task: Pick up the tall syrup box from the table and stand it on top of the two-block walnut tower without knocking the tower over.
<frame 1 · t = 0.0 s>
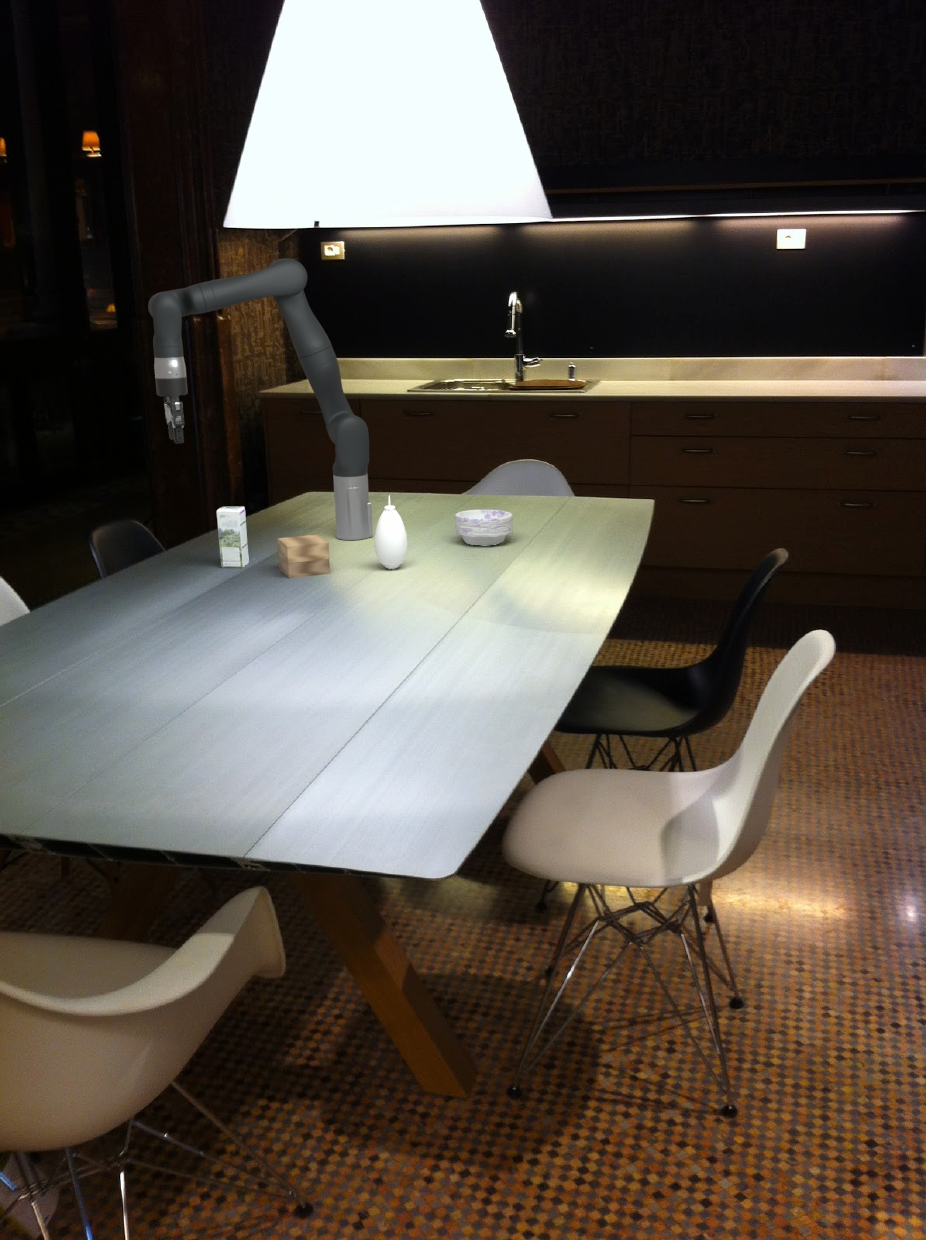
hand: (176, 441, 293), 29 cm above the table, tool pointing down, fingers open, 8 cm apart
syrup box: (235, 566, 288), on the table
tower top block: (303, 556, 280), point 4 cm above the table, touching tower base block
tower base block: (304, 572, 281), on the table, touching tower top block
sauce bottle: (392, 569, 282), on the table
paper bowls: (484, 543, 307), on the table
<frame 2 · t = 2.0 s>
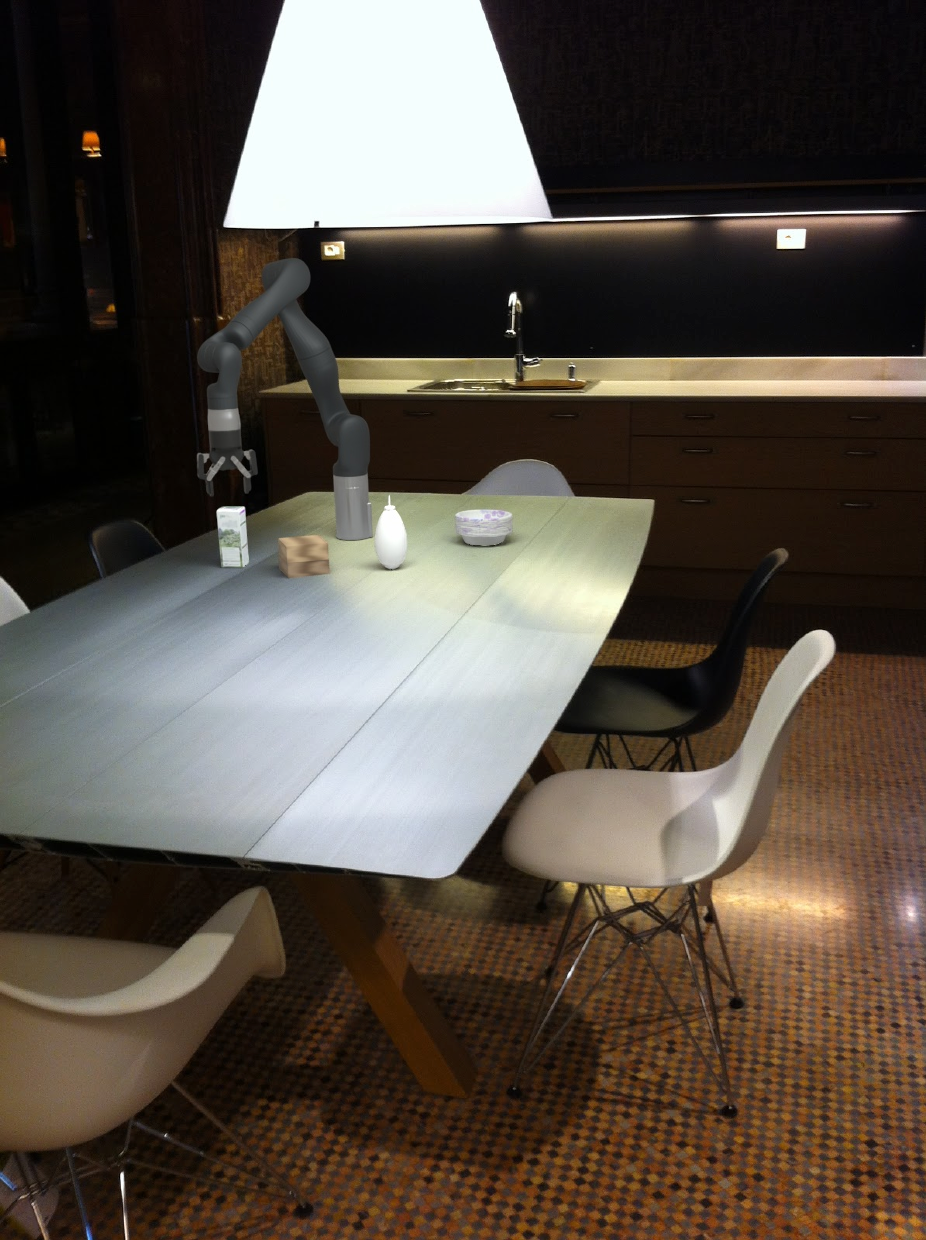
hand: (229, 494, 283), 18 cm above the table, tool pointing down, fingers open, 8 cm apart
tower top block: (303, 556, 280), point 4 cm above the table
tower base block: (304, 572, 281), on the table
everything else where it was.
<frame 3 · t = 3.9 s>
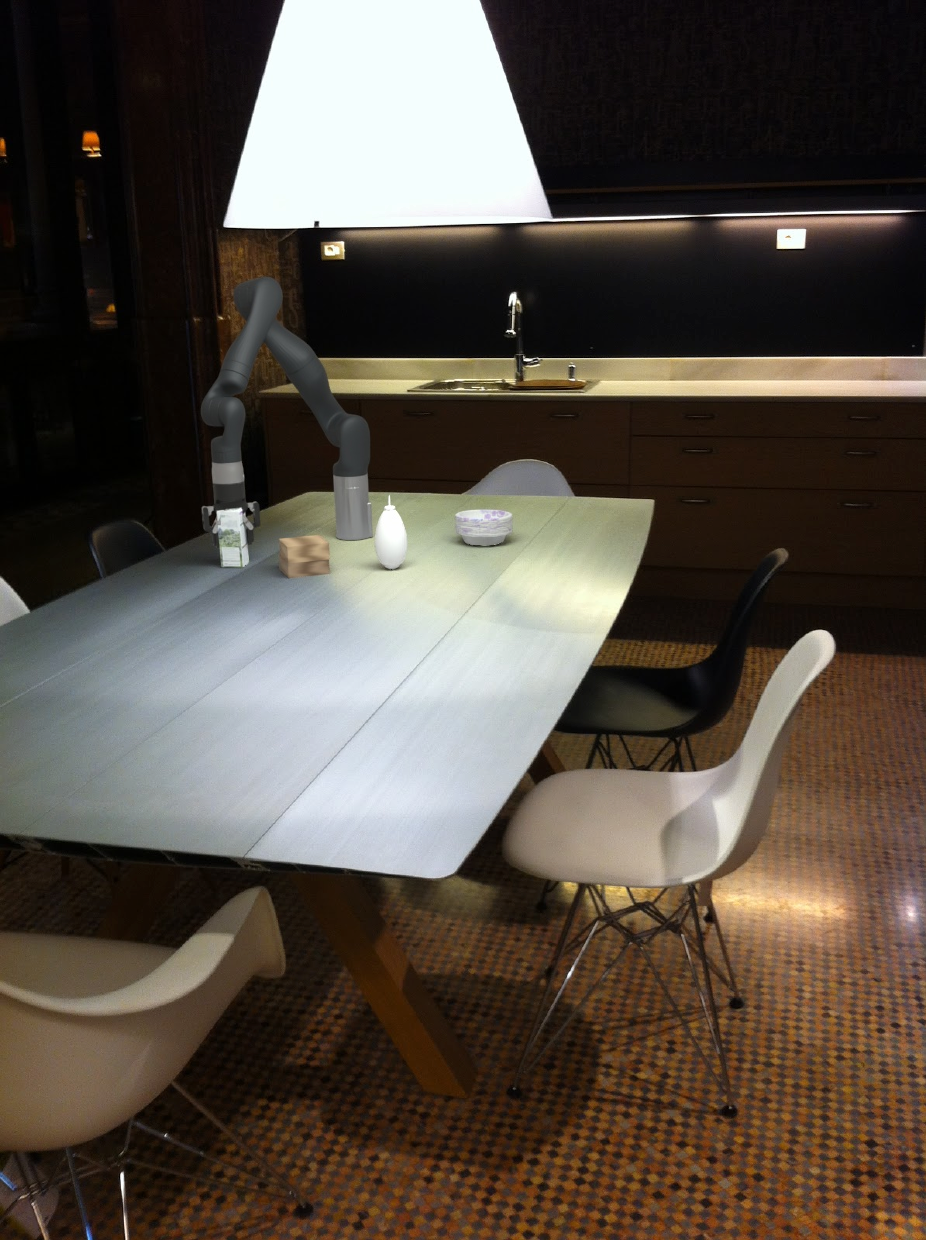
hand: (233, 545, 287), 5 cm above the table, tool pointing down, fingers closed on syrup box, 7 cm apart
syrup box: (235, 566, 288), on the table, touching gripper
tower top block: (304, 557, 280), point 4 cm above the table, touching tower base block
tower base block: (304, 573, 281), on the table, touching tower top block
everything else where it was.
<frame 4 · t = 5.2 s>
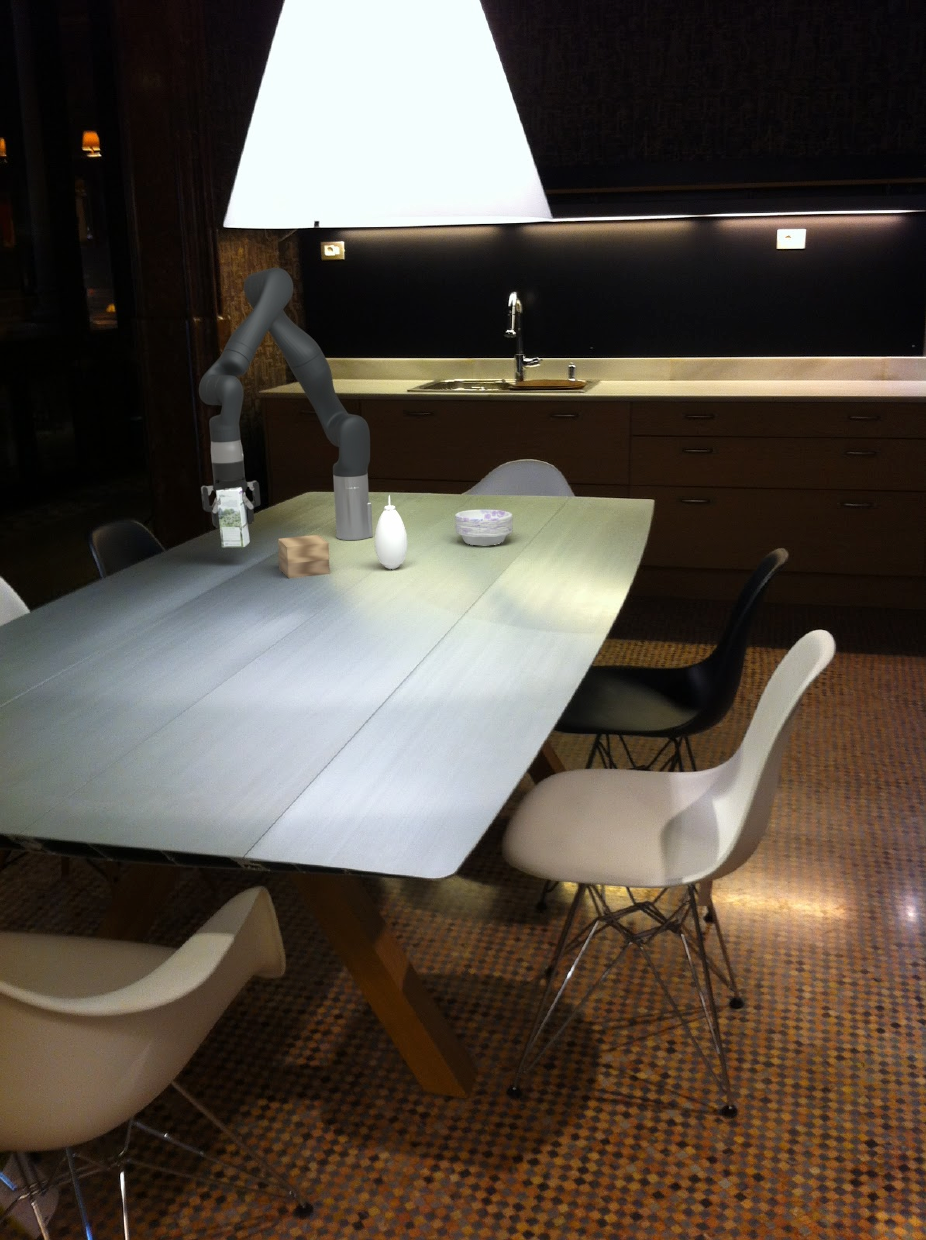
hand: (233, 525, 285), 10 cm above the table, tool pointing down, fingers closed on syrup box, 7 cm apart
syrup box: (235, 546, 287), point 5 cm above the table, touching gripper
everything else where it was.
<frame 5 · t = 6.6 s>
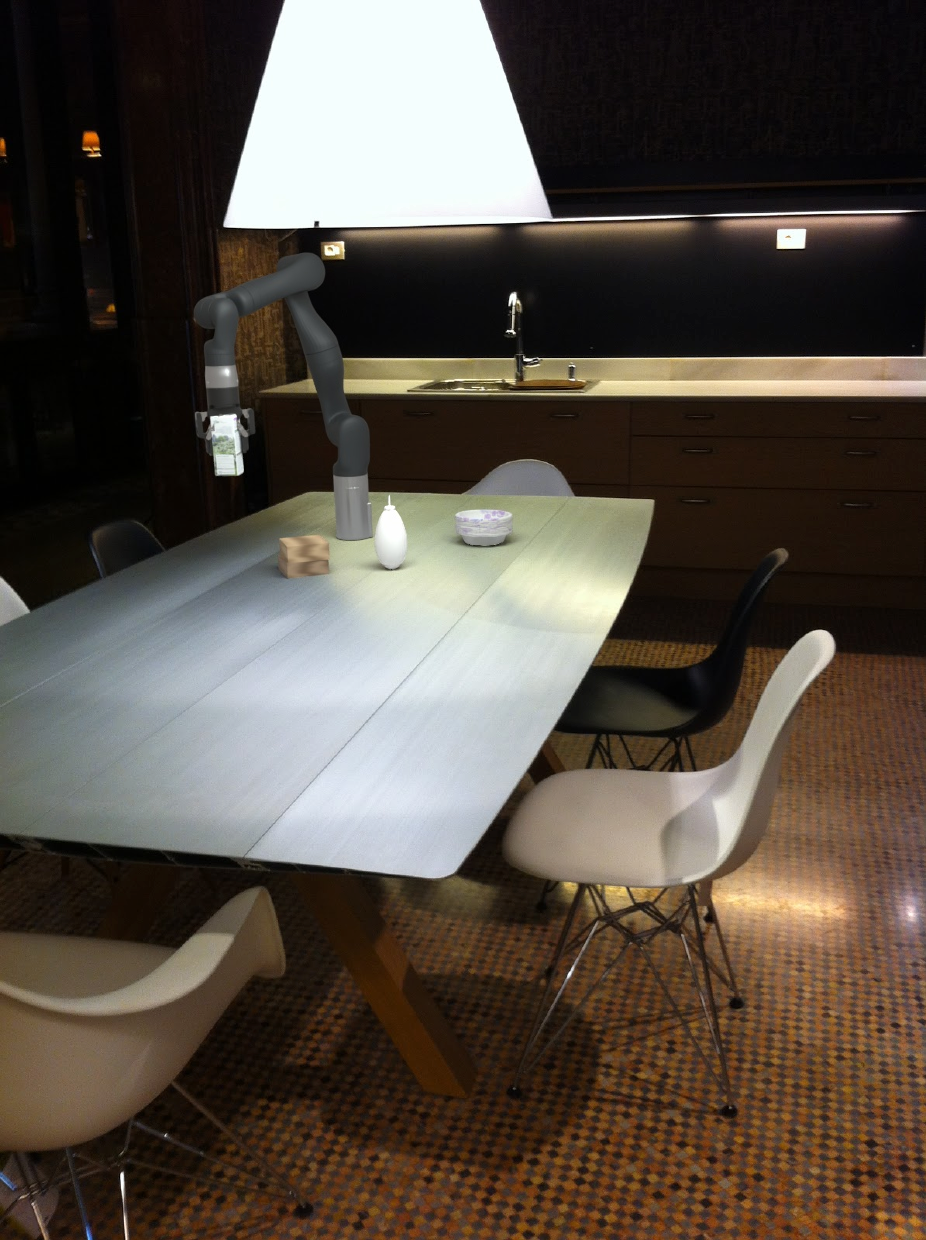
hand: (227, 453, 280), 28 cm above the table, tool pointing down, fingers closed on syrup box, 7 cm apart
syrup box: (229, 475, 282), point 23 cm above the table, touching gripper
everything else where it was.
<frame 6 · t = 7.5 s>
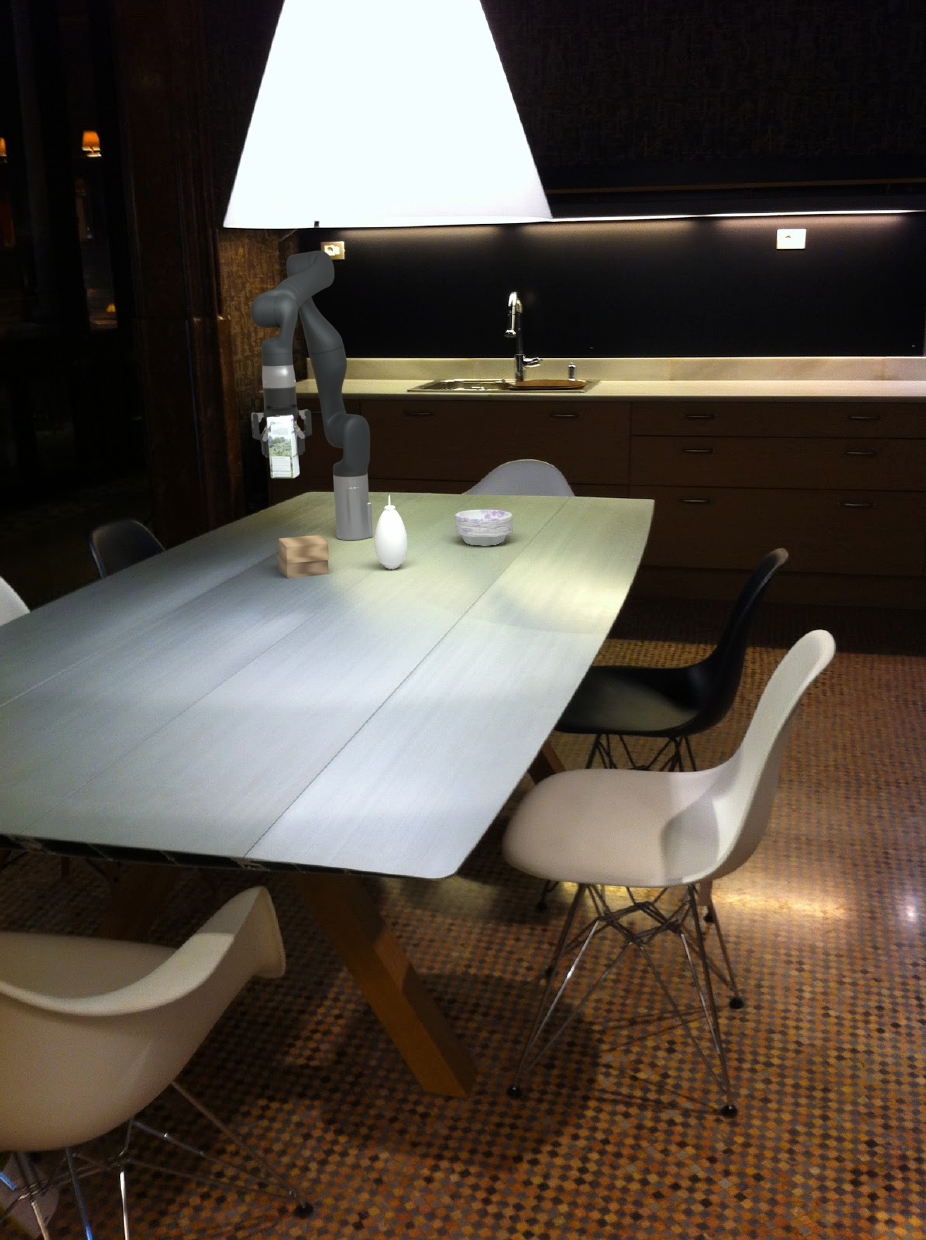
hand: (283, 455, 274), 28 cm above the table, tool pointing down, fingers closed on syrup box, 7 cm apart
syrup box: (285, 477, 276), point 23 cm above the table, touching gripper
everything else where it was.
when the fingers open (14 cm above the table, at t = 10.6 s): syrup box drops 2 cm, point 7 cm above the table.
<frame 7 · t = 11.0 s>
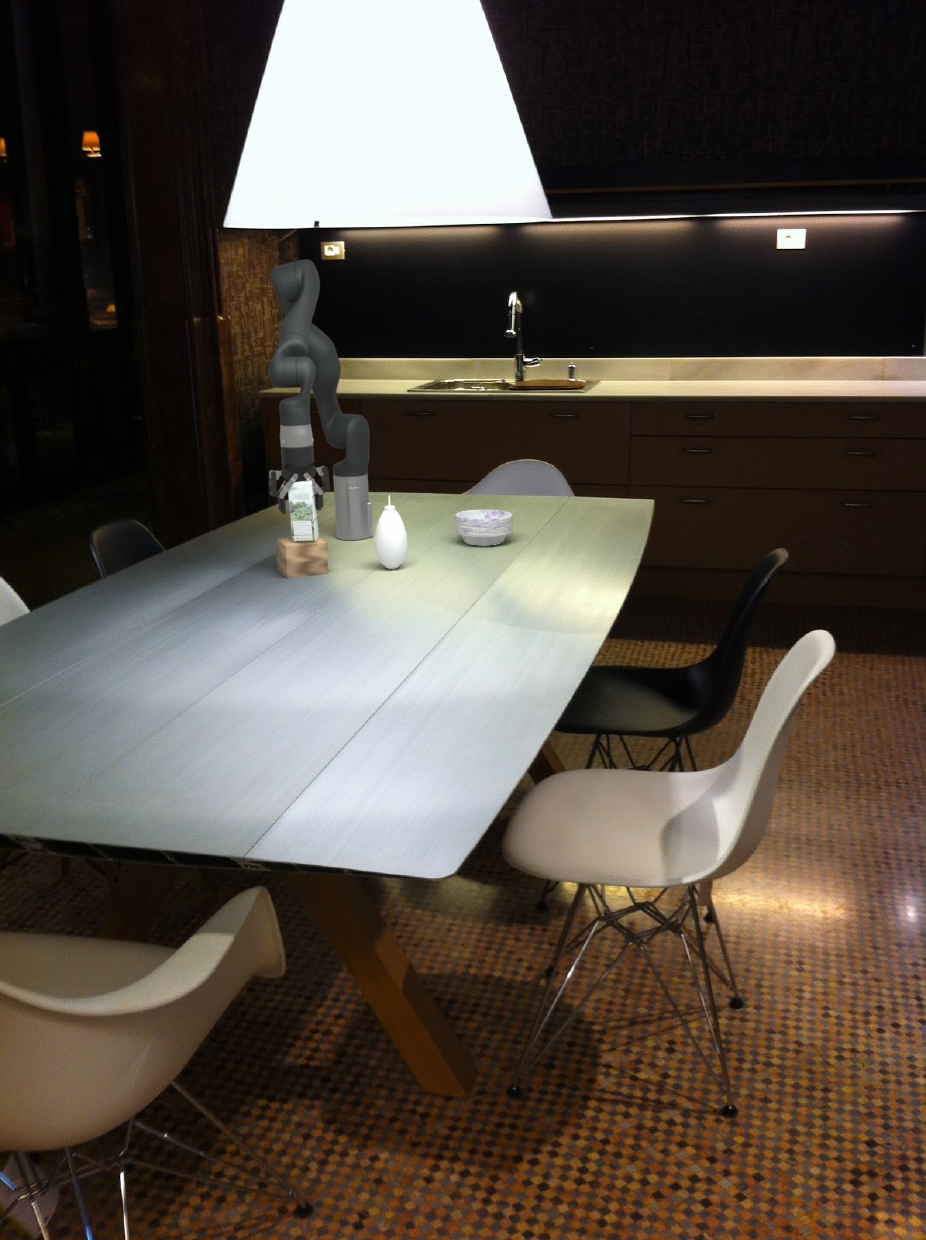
hand: (301, 511, 277), 15 cm above the table, tool pointing down, fingers open, 8 cm apart
syrup box: (305, 540, 279), point 7 cm above the table, touching gripper
everything else where it was.
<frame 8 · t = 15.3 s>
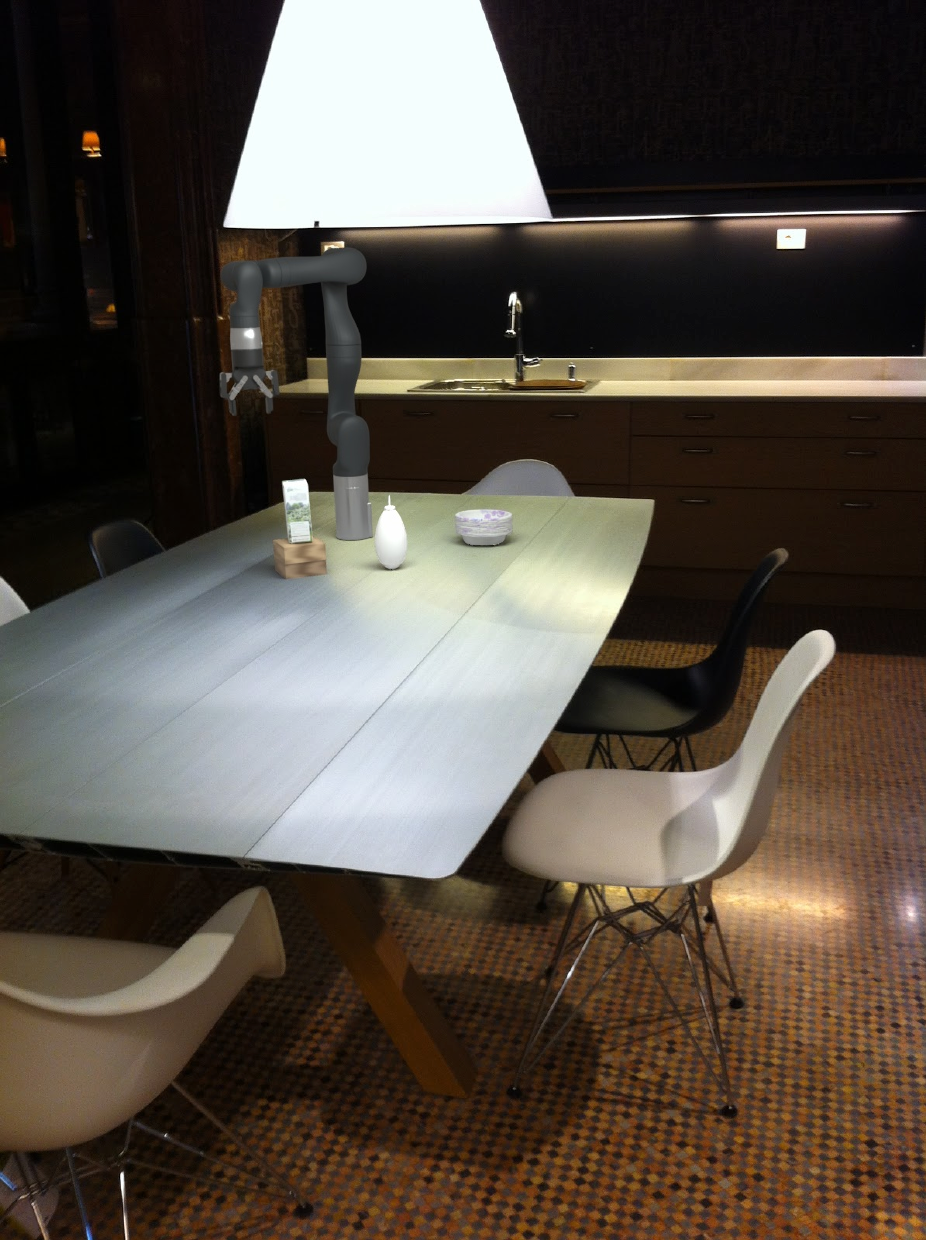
hand: (251, 414, 286), 36 cm above the table, tool pointing down, fingers open, 8 cm apart
syrup box: (300, 541, 278), point 7 cm above the table, touching tower top block
tower top block: (299, 557, 279), point 4 cm above the table, touching syrup box, tower base block
at the end: syrup box 0.4 cm off-centre on the tower top block, point 4.4 cm above the tower top block's base; syrup box tilted 9°; tower top block 0.2 cm off-centre on the tower base block, point 4.0 cm above the tower base block's base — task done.
